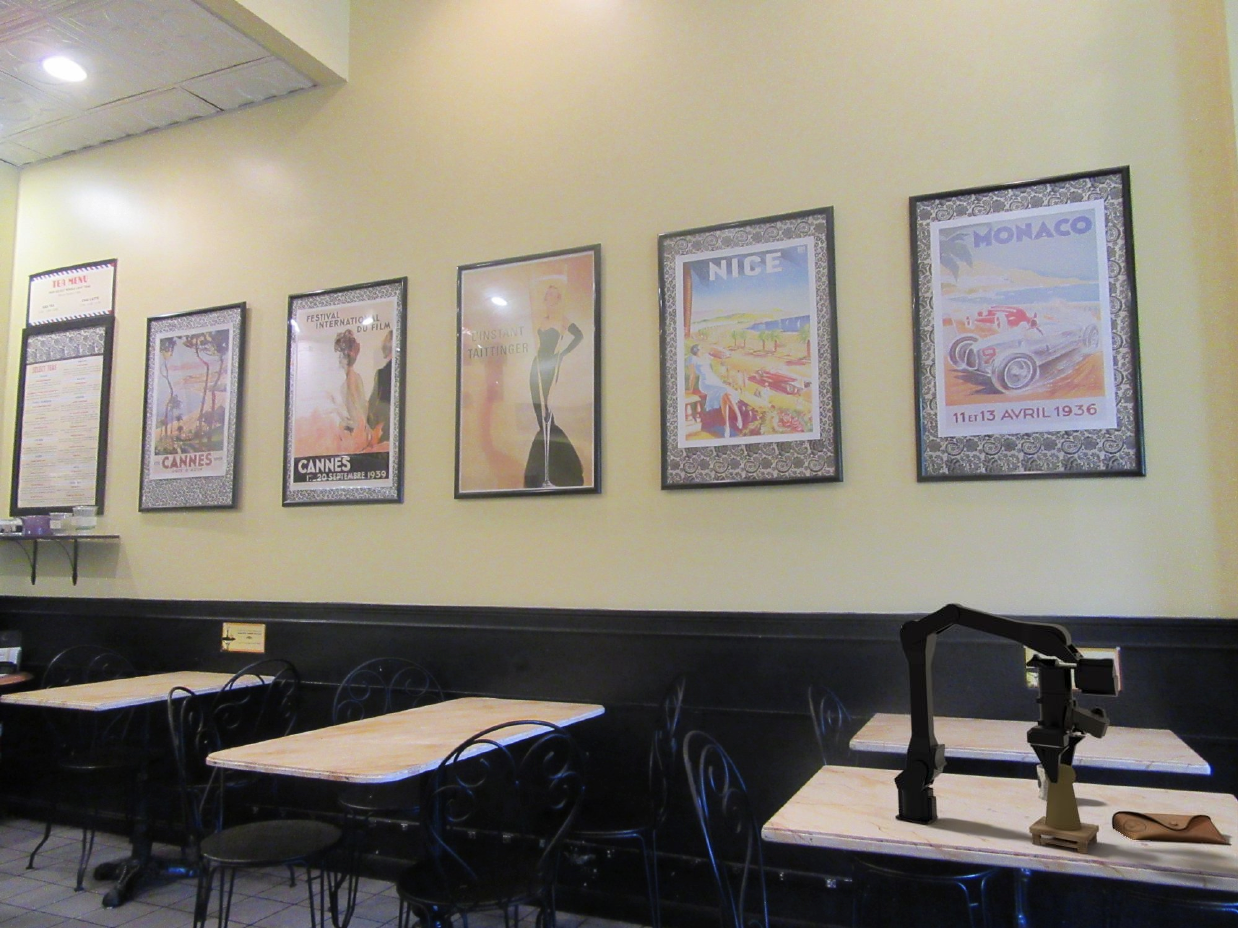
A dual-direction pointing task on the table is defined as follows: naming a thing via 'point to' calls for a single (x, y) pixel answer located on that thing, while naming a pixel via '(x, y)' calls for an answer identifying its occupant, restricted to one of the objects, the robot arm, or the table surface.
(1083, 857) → the table surface
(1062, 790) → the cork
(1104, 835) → the table surface
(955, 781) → the table surface
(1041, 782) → the mug
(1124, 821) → the sunglasses case
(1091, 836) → the footstool
